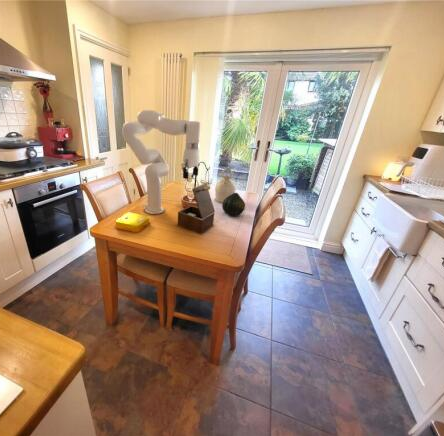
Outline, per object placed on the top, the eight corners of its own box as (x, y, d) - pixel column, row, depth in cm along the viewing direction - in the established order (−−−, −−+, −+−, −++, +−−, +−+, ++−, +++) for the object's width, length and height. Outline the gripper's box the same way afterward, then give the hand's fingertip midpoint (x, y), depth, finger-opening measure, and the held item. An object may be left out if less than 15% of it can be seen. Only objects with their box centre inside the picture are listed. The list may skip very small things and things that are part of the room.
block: (184, 222, 142) (184, 215, 140) (189, 219, 146) (189, 212, 144) (191, 225, 139) (191, 217, 137) (195, 222, 143) (196, 214, 141)
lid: (191, 188, 125) (199, 186, 122) (205, 183, 135) (212, 181, 132) (201, 219, 128) (209, 218, 124) (213, 211, 138) (221, 210, 134)
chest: (177, 225, 140) (178, 211, 137) (190, 218, 150) (191, 205, 146) (200, 234, 131) (202, 220, 128) (212, 225, 141) (214, 212, 138)
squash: (226, 212, 147) (242, 193, 146) (214, 204, 160) (229, 187, 159) (239, 223, 155) (253, 205, 154) (226, 215, 167) (240, 199, 167)
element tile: (137, 233, 129) (137, 225, 127) (114, 228, 134) (114, 220, 132) (150, 222, 142) (150, 215, 140) (128, 218, 147) (128, 211, 145)
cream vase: (219, 195, 192) (222, 165, 181) (237, 200, 184) (241, 168, 173) (210, 200, 180) (213, 168, 170) (228, 205, 172) (233, 172, 162)
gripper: (195, 143, 135) (193, 172, 142) (177, 146, 122) (176, 178, 130) (206, 145, 131) (204, 175, 138) (188, 148, 118) (187, 181, 126)
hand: (190, 176), depth 134 cm, fingers open, 9 cm apart
